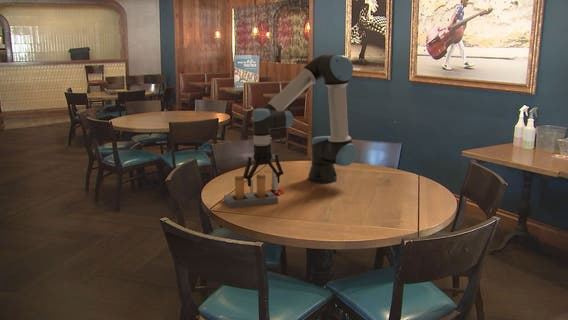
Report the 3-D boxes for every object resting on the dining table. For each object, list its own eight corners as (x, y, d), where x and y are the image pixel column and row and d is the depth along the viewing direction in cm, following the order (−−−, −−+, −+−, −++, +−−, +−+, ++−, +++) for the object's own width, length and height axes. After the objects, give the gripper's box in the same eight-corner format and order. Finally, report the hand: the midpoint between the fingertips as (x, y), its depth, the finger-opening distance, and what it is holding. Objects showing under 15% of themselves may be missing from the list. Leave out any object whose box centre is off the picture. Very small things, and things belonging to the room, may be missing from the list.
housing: (270, 195, 230) (270, 190, 229) (278, 203, 219) (278, 197, 218) (224, 200, 223) (223, 195, 222) (229, 208, 212) (229, 202, 211)
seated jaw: (243, 201, 222) (242, 175, 219) (245, 203, 218) (244, 177, 215) (234, 202, 220) (233, 176, 218) (236, 204, 217) (235, 178, 214)
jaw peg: (265, 199, 224) (264, 174, 222) (266, 202, 220) (265, 176, 218) (256, 199, 224) (256, 174, 221) (257, 202, 220) (256, 176, 217)
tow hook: (269, 190, 240) (263, 194, 232) (270, 164, 238) (264, 168, 229) (286, 191, 238) (280, 196, 229) (286, 165, 236) (281, 169, 227)
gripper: (284, 140, 224) (285, 186, 229) (234, 144, 217) (237, 192, 222) (289, 143, 217) (291, 190, 222) (238, 148, 210) (241, 197, 215)
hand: (264, 191), depth 222 cm, fingers open, 11 cm apart
